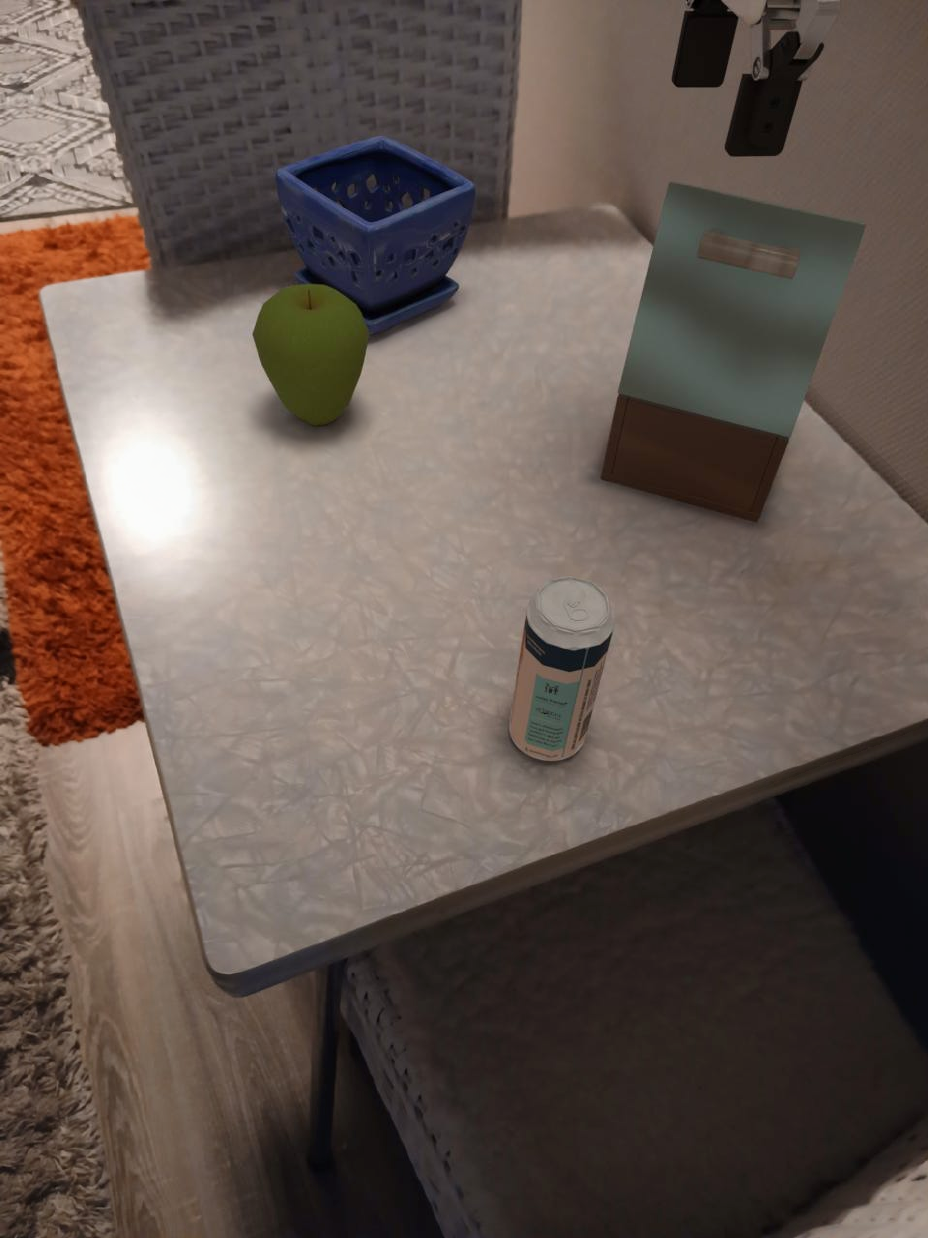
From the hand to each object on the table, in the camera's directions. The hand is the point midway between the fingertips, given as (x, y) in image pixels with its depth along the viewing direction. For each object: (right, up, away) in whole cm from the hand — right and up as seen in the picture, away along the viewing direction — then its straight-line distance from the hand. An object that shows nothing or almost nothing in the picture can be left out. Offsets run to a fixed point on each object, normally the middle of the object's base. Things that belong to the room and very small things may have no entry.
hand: (722, 117), depth 57 cm
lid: (+3, -8, +10) cm, 13 cm away
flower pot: (-23, +1, +37) cm, 44 cm away
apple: (-27, -13, +24) cm, 38 cm away
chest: (+4, -15, +24) cm, 29 cm away
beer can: (-10, -36, +4) cm, 38 cm away
